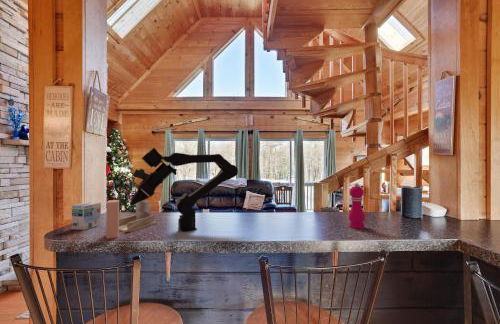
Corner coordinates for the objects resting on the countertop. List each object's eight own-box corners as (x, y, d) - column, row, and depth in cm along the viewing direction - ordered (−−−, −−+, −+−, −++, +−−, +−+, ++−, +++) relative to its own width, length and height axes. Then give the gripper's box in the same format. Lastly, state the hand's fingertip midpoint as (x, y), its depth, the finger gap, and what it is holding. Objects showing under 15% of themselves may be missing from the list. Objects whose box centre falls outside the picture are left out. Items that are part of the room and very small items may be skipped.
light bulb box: (84, 230, 123) (84, 205, 123) (70, 229, 125) (70, 205, 125) (101, 224, 134) (101, 202, 134) (89, 224, 135) (89, 201, 135)
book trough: (156, 223, 137) (156, 201, 137) (131, 232, 120) (131, 206, 120) (134, 221, 140) (134, 200, 140) (107, 230, 123) (107, 205, 123)
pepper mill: (347, 228, 126) (347, 183, 126) (348, 224, 133) (348, 182, 133) (365, 229, 123) (365, 183, 123) (365, 226, 130) (365, 182, 130)
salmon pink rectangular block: (119, 233, 117) (119, 199, 117) (117, 237, 111) (117, 202, 111) (108, 234, 116) (108, 200, 116) (106, 238, 110) (106, 202, 110)
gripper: (144, 162, 127) (117, 187, 123) (145, 162, 109) (113, 191, 105) (163, 179, 129) (137, 204, 125) (166, 181, 112) (136, 211, 108)
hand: (131, 202), depth 116 cm, fingers open, 9 cm apart
